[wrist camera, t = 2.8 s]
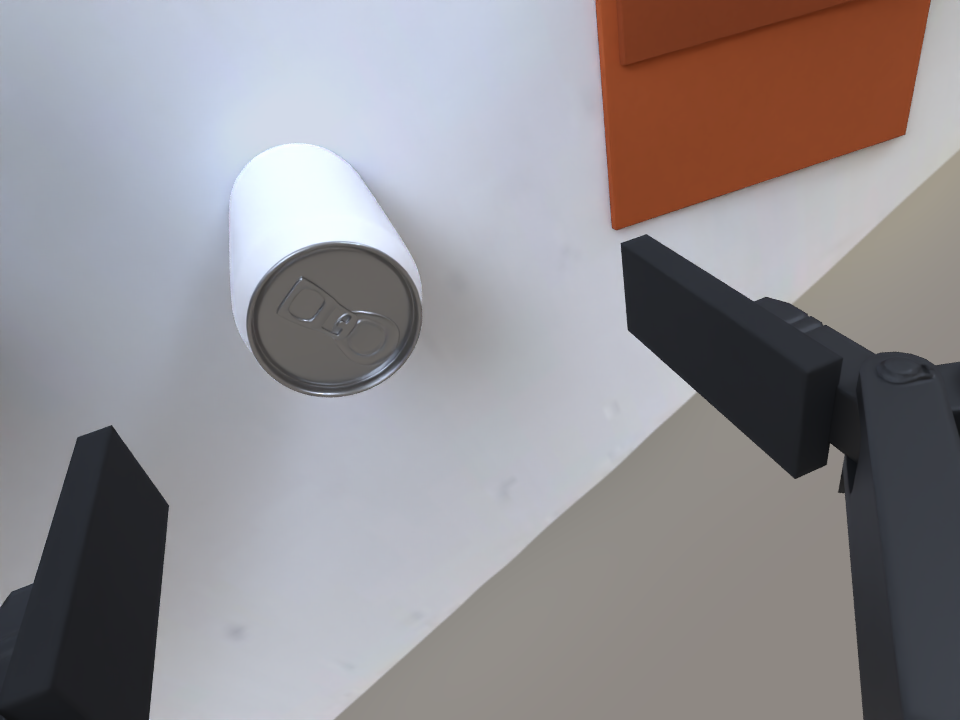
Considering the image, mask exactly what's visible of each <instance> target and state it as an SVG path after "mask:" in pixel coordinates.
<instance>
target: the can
mask: <svg viewBox="0 0 960 720" xmlns="http://www.w3.org/2000/svg"><path fill="white" fill-rule="evenodd" d="M229 255H230V286H231V302H232V311H233V316H234V320H235V323H236V326H237V329H238V331H239V334H240V336H241V338H242V340H243V341H244V343H245V344H246V346H247V347H248V349H249V350H250V351H251V352H252V353H253V355H254V356H255V358H256V359H257V361H258V362H259V364H260V365H261V366H262V368H263V369H264V370H265V371H266V372H267V373H268V374H269V375H270V376H271V377H272V378H273V379H275V380H276V381H278V382H279V383H281V384H282V385H284V386H286V387H288V388H290V389H292V390H294V391H297V392H300V393H303V394H307V395H311V396H317V397H342V396H348V395H353V394H357V393H360V392H363V391H366V390H368V389H371V388H373V387H375V386H377V385H379V384H380V383H382V382H383V381H385V380H386V379H388V378H389V377H391V376H392V375H393V374H394V373H395V372H396V371H397V370H398V369H399V368H400V367H401V366H402V365H403V364H404V363H405V362H406V360H407V359H408V358H409V356H410V355H411V353H412V351H413V349H414V347H415V345H416V343H417V341H418V338H419V335H420V331H421V326H422V286H421V280H420V276H419V273H418V270H417V267H416V264H415V262H414V260H413V258H412V256H411V254H410V252H409V250H408V249H407V247H406V245H405V244H404V242H403V241H402V239H401V237H400V236H399V234H398V233H397V231H396V230H395V228H394V227H393V225H392V223H391V222H390V220H389V219H388V217H387V216H386V214H385V213H384V211H383V210H382V208H381V207H380V205H379V204H378V202H377V201H376V199H375V198H374V196H373V195H372V193H371V192H370V190H369V189H368V187H367V186H366V184H365V183H364V181H363V180H362V178H361V177H360V176H359V174H358V173H357V172H356V171H355V169H354V168H353V167H352V166H351V165H350V164H349V163H348V162H346V161H345V160H344V159H343V158H341V157H340V156H338V155H337V154H335V153H333V152H331V151H329V150H327V149H325V148H322V147H319V146H315V145H310V144H299V143H296V144H285V145H280V146H277V147H274V148H271V149H269V150H266V151H264V152H263V153H261V154H259V155H258V156H256V157H255V158H254V159H252V160H251V161H250V162H249V163H248V164H247V165H246V166H245V167H244V168H243V170H242V171H241V172H240V174H239V176H238V177H237V179H236V181H235V183H234V186H233V189H232V192H231V196H230V202H229Z"/></svg>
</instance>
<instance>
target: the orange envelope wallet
mask: <svg viewBox="0 0 960 720" xmlns="http://www.w3.org/2000/svg"><path fill="white" fill-rule="evenodd" d="M930 2H931V0H596V13H597V27H598V41H599V55H600V68H601V82H602V96H603V110H604V124H605V138H606V152H607V165H608V179H609V193H610V207H611V221H612V228H613V229H615V230H619V229H622V228H625V227H628V226H631V225H634V224H637V223H640V222H643V221H646V220H649V219H652V218H655V217H658V216H661V215H664V214H667V213H670V212H673V211H676V210H679V209H682V208H685V207H688V206H691V205H694V204H697V203H700V202H703V201H706V200H709V199H712V198H715V197H718V196H721V195H724V194H727V193H730V192H733V191H736V190H739V189H742V188H745V187H748V186H751V185H754V184H757V183H760V182H764V181H767V180H770V179H773V178H776V177H779V176H782V175H785V174H788V173H791V172H794V171H797V170H800V169H803V168H806V167H809V166H812V165H815V164H818V163H821V162H824V161H827V160H830V159H833V158H836V157H839V156H842V155H845V154H848V153H851V152H854V151H857V150H860V149H863V148H866V147H869V146H872V145H875V144H878V143H881V142H884V141H887V140H890V139H893V138H896V137H899V136H902V135H905V133H906V128H907V122H908V117H909V112H910V107H911V101H912V96H913V91H914V86H915V80H916V75H917V70H918V65H919V60H920V54H921V49H922V44H923V39H924V33H925V28H926V23H927V18H928V12H929V7H930Z"/></svg>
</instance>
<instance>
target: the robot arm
mask: <svg viewBox="0 0 960 720" xmlns="http://www.w3.org/2000/svg"><path fill="white" fill-rule="evenodd" d="M621 253H622V265H623V277H624V290H625V302H626V314H627V326H628V331H629V332H631V333H632V334H633V335H634V336H635V337H636V338H637V339H638V340H640V341H641V342H642V343H643V344H644V345H645V346H646V347H647V348H649V349H650V350H651V351H652V352H653V353H654V354H655V355H656V356H658V357H659V358H660V359H661V360H662V361H663V362H664V363H665V364H667V365H668V366H669V367H670V368H671V369H672V370H673V371H674V372H675V373H677V374H678V375H679V376H680V377H681V378H682V379H683V380H684V381H686V382H687V383H688V384H689V385H690V386H691V387H692V388H693V389H695V390H696V391H697V392H698V393H699V394H701V396H702V397H704V398H705V399H706V400H707V401H708V402H709V403H710V404H711V405H713V406H714V407H715V408H716V409H717V410H718V411H719V412H720V413H722V414H723V415H724V416H725V417H726V418H728V420H729V421H731V422H732V423H733V424H734V425H735V426H736V427H737V428H738V429H739V430H741V431H742V432H743V433H744V434H745V435H746V436H747V437H749V438H750V439H751V440H752V441H753V442H754V443H755V444H756V445H757V446H759V447H760V448H761V449H762V450H763V451H764V452H765V453H767V454H768V455H769V456H770V457H771V458H772V459H773V460H774V461H775V462H777V463H778V464H779V465H780V466H781V467H782V468H783V469H784V470H786V471H787V472H788V473H789V474H790V475H791V476H792V477H793V478H794V479H796V478H798V477H801V476H803V475H805V474H807V473H810V472H812V471H814V470H816V469H818V468H821V467H823V466H825V465H827V459H828V453H829V446H830V443H831V444H832V445H833V446H835V447H836V448H837V449H839V450H840V451H841V452H842V453H844V454H845V457H844V463H843V468H842V474H841V480H840V485H839V491H838V492H839V493H845V500H846V512H847V524H848V535H849V549H850V560H851V573H852V584H853V596H854V609H855V621H856V632H857V633H856V634H857V646H858V657H859V670H860V682H861V694H862V707H863V719H864V720H960V362H956V363H949V364H941V365H934V364H932V363H931V362H929V361H928V360H927V359H924V358H922V357H919V356H916V355H913V354H908V353H901V352H885V353H878V354H874V353H873V352H871V351H869V350H868V349H866V348H864V347H862V346H861V345H859V344H857V343H856V342H854V341H852V340H851V339H849V338H847V337H846V336H844V335H842V334H841V333H839V332H837V331H835V330H834V329H832V328H830V327H829V326H827V325H824V326H823V324H822V322H820V321H819V320H817V319H815V318H814V317H812V316H810V317H809V316H808V314H806V313H805V312H803V311H802V310H800V309H798V308H797V307H795V306H793V305H792V304H790V303H786V302H783V301H779V300H776V299H772V298H768V297H765V298H762V299H759V300H757V301H752V300H750V299H749V298H747V297H746V296H744V295H743V294H741V293H739V292H738V291H736V290H735V289H733V288H731V287H730V286H728V285H727V284H725V283H723V282H722V281H720V280H719V279H717V278H715V277H714V276H712V275H711V274H709V273H707V272H706V271H704V270H703V269H701V268H699V267H698V266H696V265H695V264H693V263H691V262H690V261H688V260H687V259H685V258H684V257H682V256H680V255H679V254H677V253H676V252H674V251H672V250H671V249H669V248H668V247H666V246H664V245H663V244H661V243H660V242H658V241H656V240H655V239H653V238H652V237H650V236H648V235H647V234H646V235H643V236H640V237H637V238H635V239H632V240H629V241H626V242H623V243H621ZM168 511H169V505H168V503H167V502H166V501H165V499H164V498H163V496H162V495H161V494H160V492H159V491H158V489H157V488H156V487H155V485H154V484H153V482H152V481H151V480H150V478H149V477H148V475H147V474H146V473H145V471H144V470H143V468H142V467H141V466H140V464H139V463H138V461H137V460H136V459H135V457H134V456H133V454H132V453H131V452H130V450H129V449H128V447H127V446H126V444H125V443H124V442H123V440H122V439H121V437H120V436H119V435H118V433H117V432H116V430H115V429H114V428H113V426H112V425H111V426H108V427H105V428H103V429H100V430H97V431H94V432H91V433H89V434H86V435H83V436H80V437H77V441H76V444H75V447H74V451H73V454H72V457H71V461H70V464H69V467H68V471H67V474H66V477H65V480H64V484H63V487H62V490H61V494H60V497H59V500H58V504H57V507H56V510H55V514H54V517H53V520H52V523H51V527H50V530H49V533H48V537H47V540H46V543H45V547H44V550H43V553H42V557H41V560H40V563H39V566H38V570H37V573H36V576H35V580H34V583H33V584H30V585H28V586H25V587H23V588H20V589H18V590H15V591H12V592H11V593H10V595H9V596H8V597H7V599H6V600H5V602H4V603H3V604H2V606H1V607H0V720H149V713H150V702H151V691H152V681H153V670H154V660H155V649H156V638H157V628H158V617H159V607H160V596H161V585H162V575H163V564H164V554H165V543H166V532H167V522H168Z"/></svg>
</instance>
